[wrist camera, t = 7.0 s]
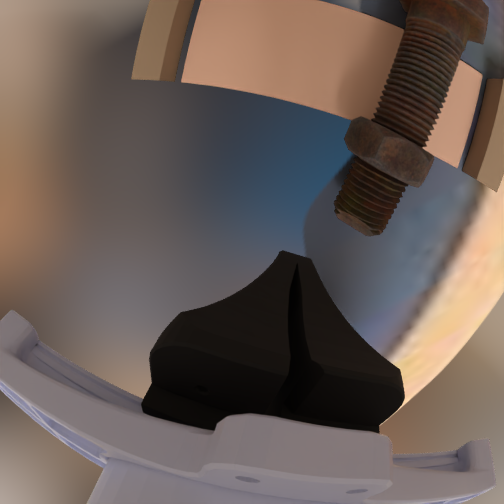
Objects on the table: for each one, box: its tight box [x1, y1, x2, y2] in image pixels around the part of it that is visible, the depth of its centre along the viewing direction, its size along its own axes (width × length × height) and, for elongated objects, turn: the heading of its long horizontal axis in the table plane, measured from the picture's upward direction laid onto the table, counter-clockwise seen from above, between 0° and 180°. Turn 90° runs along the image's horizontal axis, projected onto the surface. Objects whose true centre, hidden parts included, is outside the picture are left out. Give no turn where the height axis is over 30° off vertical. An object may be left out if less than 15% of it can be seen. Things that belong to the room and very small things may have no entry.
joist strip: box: [131, 0, 504, 192], centre depth 11 cm, size 7×23×2 cm, turn 78°
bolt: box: [334, 0, 489, 236], centre depth 11 cm, size 6×5×15 cm
